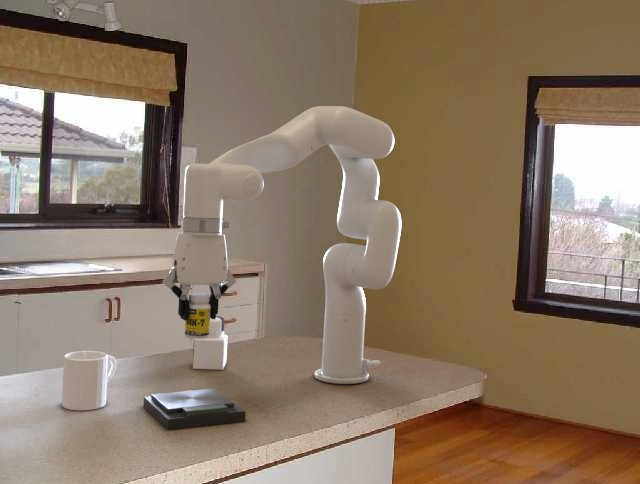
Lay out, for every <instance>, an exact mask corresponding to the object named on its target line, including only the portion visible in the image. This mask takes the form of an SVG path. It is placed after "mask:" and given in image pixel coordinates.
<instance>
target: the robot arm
mask: <svg viewBox="0 0 640 484" xmlns="http://www.w3.org/2000/svg"><path fill="white" fill-rule="evenodd" d="M394 135H395V134H394V132H393V130H392V129H391V127H390V126H389V125H388V124H387V123H386V122H384V121H382V120H380V119H378V118H375V117H373V116H370V115H368V114H366V113H363V112H362V111H359V110H356V109H354V108H351V107H348V106H343V105H317V106H313V107H309V108H307V109H306V110H304V111H302V112H301V113H300V114H299V115H297V116H295V117H294V118H292V119H290V120H289V121H288V122H286V123H285V124H283V125H282V126H280V127H279V128H277V129H276V130H274V131H273V132H271V133H267V134H266V135H263V136H260V137H258V138H256V139H253V140H251V141H249V142H246V143H243V144H240V145H238V146H236V147H234V148H232V149H230V150H228V151H226V152H224V153H223V154H222V155H219V156H218V157H217V158H215V159H214V160H212V161H211V162H210V163H191V164H189V165H187V166H186V168H185V172H184V190H183V191H184V193H183V211H182V212H183V217H182V232H178V233H177V235H176V240H175V244H174V250H173V256H172V263H171V264H172V265H171V270H170V271H168V273H167V275H166V276H165V277H164V278H163V279H162V280H161V283H162V284H163V285H164V287H167V288H168V289H169V290H170V291H171V292H172V293H173V294H174V295H175V296H176V297H177V298H178V311H177V312H178V313H177V314H178V316H179V318H180V319H181V320H183V321H185V320H188V319H189V303H190V302H189V300H188V299H189V294H190V293H189V292H190V289H191V286H200V285H201V286H203V285H207V286H208V289H209V302H208V304H210V306H211V314H210V318H211V319H216V316H217V315H218V314H219V301H220V299H222V296H223V295H224V294H225V293H226V292H227V291H228V289H230V288H231V287H233V286H234V285H235V284H236V282H237V280H236V278H235V277H234V276H233V274H232V273H231V271H230V270H229V268H228V249H227V241H226V235H225V234H224V233H222V232H223V231H224V229H228V228H229V226H230V223H229V220H226V221H225V220H224V218H223V215H224V214H223V213H224V212H223V211H224V201H230V202H237V203H247V202H252V201H253V200H256V199H257V198H259V197H260V195H261V194H262V192H263V190H264V187H265V186H264V185H265V182H264V178H263V174H266V173H267V174H268V173H275V172H281V171H284V170H287V169H288V170H289V169H291V168H293V167H295V166H297V165H299V164H300V163H302V162H303V161H305V159H307V158H308V157H310V156H311V155H312V154H313V153H315V152H317V151H318V150H320V148H323V147H324V146H329V147H330V150H331V151H332V152H333V153H334V156H336V158H337V160H338V162H339V164H340V167H341V170H342V176H343V179H342V188H341V194H340V199H339V205H338V211H337V218H336V225H337V229H338V232H339V233H340V234H341V235H342V236H345V237H348V238H351V239H357V240H366V245H363V244H357V243H349V242H341V243H336V244H334V245H332V246H331V247H329V248H328V249H327V251H326V252H325V254H324V256H323V260H322V266H323V267H322V268H323V269H322V271H323V279H324V286H325V299H324V300H325V304H324V305H325V306H324V319H323V323H324V324H323V337H322V355H321V356H322V357H321V368H318V369H316V370H315V371H314V379H317V380H318V381H320V382H323V383H329V384H336V385H337V384H338V385H355V384H361V383H365V382H366V381H369V373H368V371H369V370H370V369H373V370H374V369H375V370H376V369H381V367H382V363H381V361H380V359H377V360H370V359H366V358H364V345H365V329H366V327H365V326H366V313H367V302H366V297H365V293H364V290H363V288H364V289H369V290H381V289H384V288H385V287H386V286H388V284H389V283H390V282H391V280H392V278H393V275H394V272H395V269H396V262H397V256H398V250H399V245H400V238H401V231H402V218H401V212H400V211H399V209H398V207H397V206H396V205H395V204H394V203H393V202H391V201H388V200H386V199H385V200H384V199H378V197H379V188H380V173H379V169H378V167H377V164H376V162H375V160H381V159H383V158H385V157H387V156H388V155H389V154H390V153H391V152H392V150H393V149H394V145H395V136H394ZM174 282H177V283H179V286H177V285H176V284H175V283H174Z"/></svg>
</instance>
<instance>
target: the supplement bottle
mask: <svg viewBox="0 0 640 484" xmlns="http://www.w3.org/2000/svg"><path fill="white" fill-rule="evenodd" d="M209 297H210V293H209V294H208V293H203V292H193V293H188V300H189V302H190V303H189V319H188V320H184V321H185V322H184V336H185V337H186V338H188V339H193V340H194V339H203V338H207V337H209V331H210V314H211V306H210V304H208V302H209Z"/></svg>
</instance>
